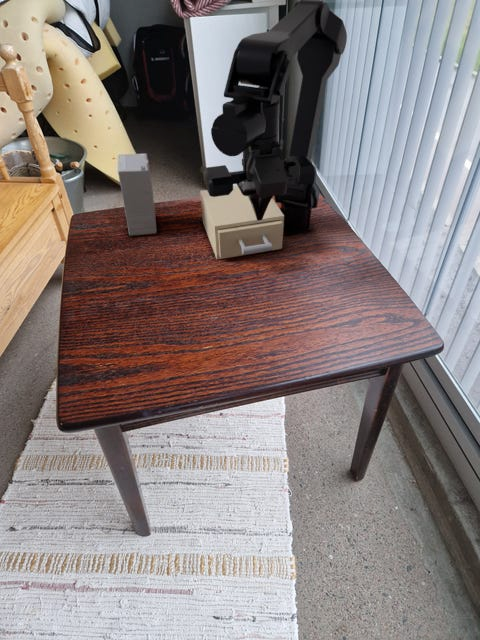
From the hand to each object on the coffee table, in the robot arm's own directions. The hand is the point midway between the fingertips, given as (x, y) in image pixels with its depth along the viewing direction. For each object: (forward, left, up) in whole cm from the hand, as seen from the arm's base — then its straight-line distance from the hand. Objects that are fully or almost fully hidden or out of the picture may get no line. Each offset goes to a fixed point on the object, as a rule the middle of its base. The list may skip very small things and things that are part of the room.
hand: (259, 219), depth 78 cm
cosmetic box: (+21, -24, -12) cm, 34 cm away
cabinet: (0, -14, -12) cm, 18 cm away
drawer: (0, -10, -11) cm, 15 cm away
